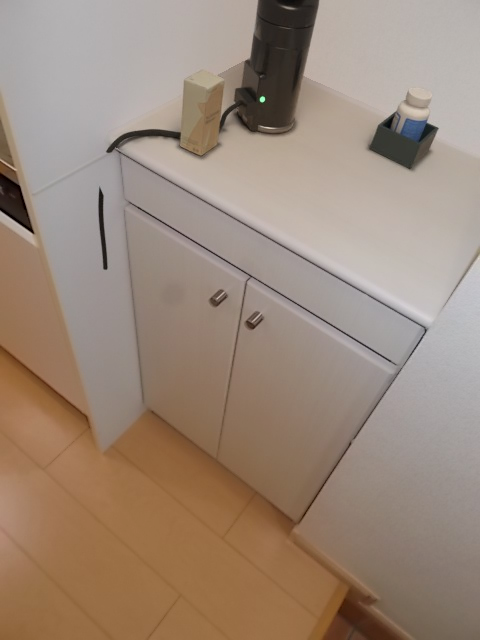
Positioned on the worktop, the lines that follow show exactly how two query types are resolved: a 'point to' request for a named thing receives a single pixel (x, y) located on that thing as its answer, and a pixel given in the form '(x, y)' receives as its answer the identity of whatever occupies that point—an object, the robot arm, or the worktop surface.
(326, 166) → the worktop surface
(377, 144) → the bin
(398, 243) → the worktop surface
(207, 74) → the box
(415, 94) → the pill bottle
